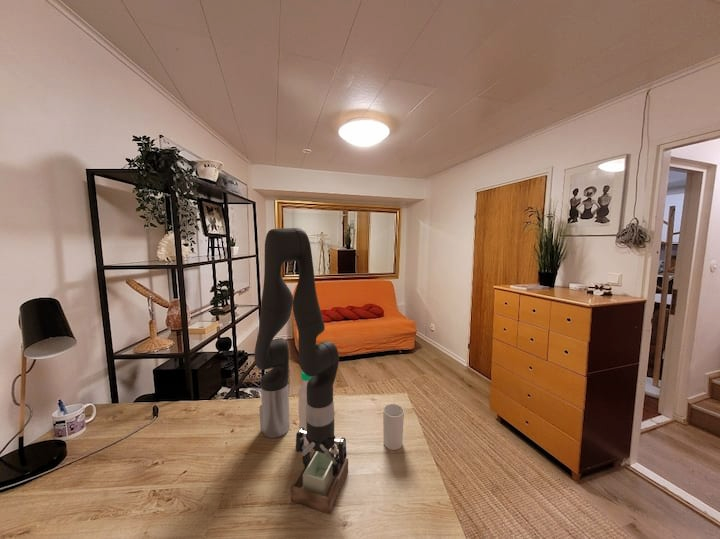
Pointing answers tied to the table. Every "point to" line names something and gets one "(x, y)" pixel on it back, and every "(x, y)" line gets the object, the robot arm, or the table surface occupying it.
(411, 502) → the table surface
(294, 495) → the walnut crate
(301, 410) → the water bottle
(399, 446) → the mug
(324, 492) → the sage crate
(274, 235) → the robot arm
